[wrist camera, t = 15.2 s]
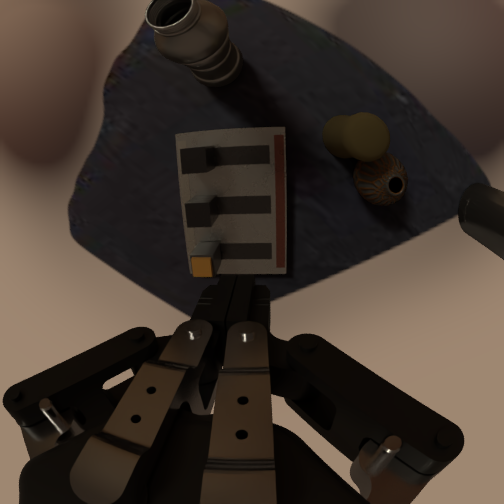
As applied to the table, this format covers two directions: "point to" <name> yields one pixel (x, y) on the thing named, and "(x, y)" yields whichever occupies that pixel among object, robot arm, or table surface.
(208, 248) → the breaker handle
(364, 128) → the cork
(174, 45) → the plastic bottle
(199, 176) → the breaker panel
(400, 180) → the vase
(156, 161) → the table surface
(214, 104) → the table surface
